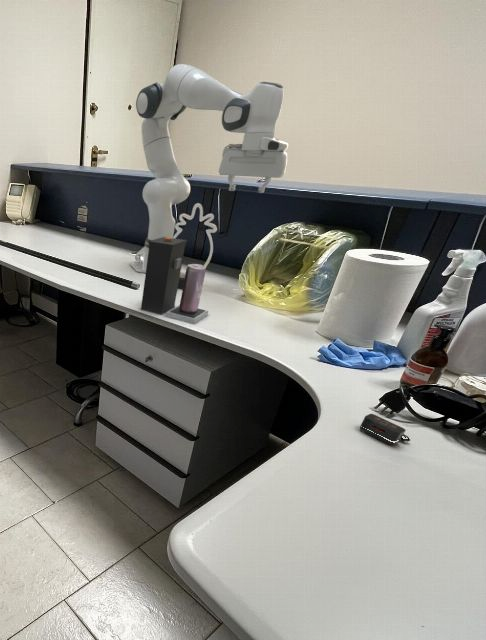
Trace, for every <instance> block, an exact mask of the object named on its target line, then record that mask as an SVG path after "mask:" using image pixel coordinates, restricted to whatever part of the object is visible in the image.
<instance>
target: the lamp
mask: <svg viewBox="0 0 486 640" xmlns="http://www.w3.org/2000/svg"><path fill="white" fill-rule="evenodd" d="M197 208H198V209H199V222H201V223H202V222H203V221H204V223H203V225H205V226H207V227H210V228H211V229H210V228H209V229H206V230H205V232H206V235H207V237H208V240H209V246H210V247H209V254H208V257H207V259H206V261H205V262H204V264H202V265H203V266H205V267H206V268H207V266H208V265H209V263H210V262H211V260H212V257H213V253H214V242H213V238H212V234H214V233H217V231H218V227H217V225H216V224H215V223H212V221H213V220H214V218H215V215H214V214H213V213H207V214H206V215H204V208H203V205H202V204H201V203H199V202H197V203H195V204H194V205H193V207H192V210H191V214H190V215H189V214H187V213H181V214H179V217H178V219H179V221H180V222H177V223H175V228H174V229H175V230H176V233H175V234H174V235H173V238H175V239H177V237H178V236H179V235H180V234H181V233H182V232H183V228H181V227H179V226H186V224H187V221H185V220H184V218H185V219H187V220H189V221H191V220H193V219H194V217H195V215H196V210H197ZM203 215H204V216H203ZM211 233H212V234H211ZM185 274H186V271H181V272H180V277H179V283H178V289H177V290H183V285H184V279H185Z"/></svg>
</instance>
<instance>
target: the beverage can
mask: <svg viewBox="0 0 486 640" xmlns="http://www.w3.org/2000/svg"><path fill="white" fill-rule="evenodd" d="M203 265H204V264H199V263H190V264H187V267H186V269H185V272H186V274H185V279H184V285H183V289H181V290H182V291H181V297H180V302H179V305H180V307H179V308H180V310H181V311H182V312H184V313H195V312H196V311H197V310H198V308H199V306H200V300H201V295H202V291H203V286H204V281H205V276H206V272H207V271H206V270H207V269H206V268H207V266H206V267H205V266H203Z"/></svg>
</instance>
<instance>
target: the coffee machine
mask: <svg viewBox="0 0 486 640" xmlns="http://www.w3.org/2000/svg"><path fill="white" fill-rule="evenodd" d="M187 241H188V240H187V239H182V238H176V239H175V238H169V237H161V238H158V239H155V240H151V241H149V252H148V259H147V267H146V273H144V275H145V276H144V283H143V289H142V297H141V305H140V310H143V311H146V312H151V313H154V314H158V315H163V314H165V313H166V314H165V317H167V318H171V319H174V320H179V321H183V322H186V323H190V324H196V323H198V322H199V321H201V320H202V319H204V318H205V317H206V316H208V314H209V310H208V309H203V308H199V307H198V310H197V311H196V312H195V313H184V312H182V311H181V310H180V308H179V307H180V304H179V305H177V306H176V299H177V294H178V290H179V289H178V283H179V277H180V272H182V265H183V259H184V254H185V248H186V245H187Z"/></svg>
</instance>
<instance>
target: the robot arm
mask: <svg viewBox="0 0 486 640" xmlns="http://www.w3.org/2000/svg"><path fill="white" fill-rule="evenodd" d="M163 81H164V82H161V83H159V82H157V81H156V82H154V83H152V84H150V85H147V86H145V87H143V88H142V89H141V90H140V91H139V92H138V94H137V97H136V100H135V107H136V112H137V115H138V116H139V117H140V118H141V119H143V120H142V122H141V142H142V147H143V152H144V156H145V161H146V165H147V169H148V170H149V171H150V172H151V173H152V175H153V176H154V177H155V178H153V179H152V180H149V181H148V182H146V184H145V185H144V187H143V189H142V199H143V202H144V203H145V204H146V206H147V210H148V216H149V217H148V218H149V221H148V231H147V238H145V240H144V244H143V245H144V246H143V247H142V248H141V249H140V250H138V251H137V252H136V254H135V256H134V261H131V262H130V263H129V265H130V266H131V267H132V268H133V269H134V271H136V272H137V273H143V274H146V267H147V259H148V252H149V241H151V240H155V239H158V238H161V237H169V238H173V237H174V235H175V234H174V232H175V229H176V228H175V225H176V219H175V218H174V216H173V211H172V207H173V206H175V205H179V204H180V203H182V202H184V201H186V200H187V199H188V197H189V196H190V193H191V184H190V182H189V181H188V180H187V178H185V176H184V175H183V173H182V171H181V169H180V167H179V165H178V163H177V160H176V157H175V153H174V149H173V145H172V144H173V143H172V139H171V134H170V130H169V124H170V120H171V121H175V120H177V119H178V117H179V115H181V114H182V113H183V112H185V110H186V109H187V108H189V109H193V110H199V111H201V110H202V111H203V110H204V111H218V112H222V114H221V125H222V128H223V129H224V131H226V132H230V133H238V134H243V139H242V143H236V144H234V143H229V144H228V145H226V146H224V149H223V150H222V159H221V160H220V164H219V168H218V173H219V176H227V181H228V184H229V188H228V191H230V192H235V191H236V187H237V185H236V184H234V180H235V177H252V178H264V180H263V181H264V183H263V184H262V185H261V186H258V190H257V193H260V194H263V193H264V192H265V191H266V190H265V189H266V187H267V186H268V185H269V184H270V182H271V180H272V178H274V179H280V178H283V176H284V175H285V174H286V169H287V166H288V165H287V164H288V153H287V152H286V151H287V150H288V148H289V143H287V142H286V141H282V140H280V139H278V138H275V135H276V125H277V123H278V121H279V118H280V115H281V111H282V106H283V101H284V96H285V95H284V94H285V90H284V89H285V88H284V86H283V85H282V83H279V82H278V83H277V82H271V81H261V82H258V83H256V85H255V86H254V87H253V88H252V89H251V90H249V91H248V92H245V93H244V94H242V93H239V92H237V91H236V90H234V89H231V88H229V87H228V86H226V85H225V84H223V83H222V82H220V81H219V80H217V79H216V78H214V76H211V75H210V74H208V73H207V72H206V71H204V70H202V69H200V68H198V67H196V66H193V65H190V64H185V63H178V64H175V65H174V66H172V67H171V68H170V69H169V71H168V72H167V74H166V77H165V80H163Z"/></svg>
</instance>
